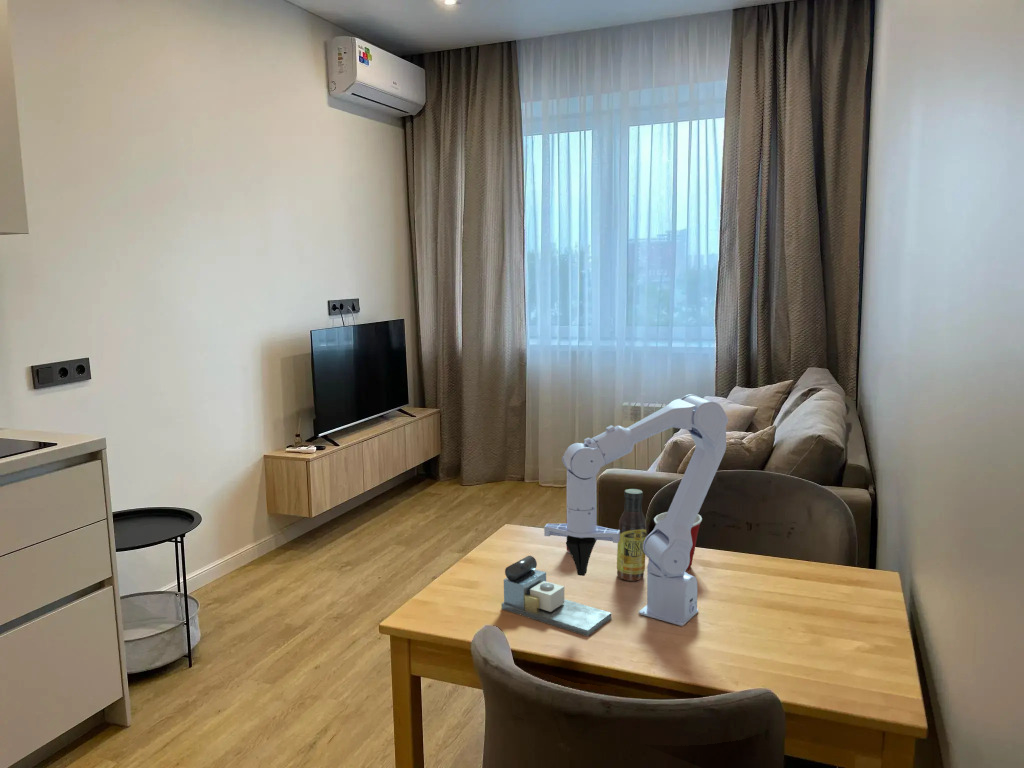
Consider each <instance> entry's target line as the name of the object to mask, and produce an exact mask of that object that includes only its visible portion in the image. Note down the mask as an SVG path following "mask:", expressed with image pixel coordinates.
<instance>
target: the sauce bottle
mask: <svg viewBox="0 0 1024 768" xmlns="http://www.w3.org/2000/svg"><path fill="white" fill-rule="evenodd" d="M623 494H624V495H623V497H624V507H623V508H624V511H622V514H621V515H620V517H619V520H618V530H620V540H619V542H618V543H617V548H616V549H617V550H616V551H617V552H616V569H617V570H616V575H617V577H618V578H619V579H621V580H624V581H629V582H634V581H635V582H636V581H639V580H642V579H643V578H644V575H645V573H644V572H645V571H646V555H645V553H644V550H643V543H644V540H645V538H646V537H647V524H646V517H645V515H644V513H643V508H642V503H643V498H644V495H643V494H644V492H643V491H642V490H641V489H638V488H629V489H625V490H624V493H623Z"/></svg>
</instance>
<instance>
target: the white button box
mask: <svg viewBox="0 0 1024 768" xmlns="http://www.w3.org/2000/svg"><path fill="white" fill-rule="evenodd" d="M530 595H531V596H535V597H538V598H539V608H540V609H543V610H546V611H549V612H551V611H553V610H554V609H556V608H557V607H559V606H560V605H562V604H563V603H564V599H565V586H564V585H561V584H556V583H553V582H550V581H547V580H546V581H543V582H541V583H539V584H538V585H536V586H534V587H533V588H531V589H530Z"/></svg>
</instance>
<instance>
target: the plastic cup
mask: <svg viewBox="0 0 1024 768" xmlns="http://www.w3.org/2000/svg"><path fill="white" fill-rule="evenodd" d="M667 512H668V511H665V512H662V513H660V514H657V515H656V516H655V517H654V518H653V521H654V524H655V525H656V524H657V523H658V522H659V521H661V520H663V519H664V518H665V517H666V515H667ZM702 521H703V518H702V515H700V514H698V515H697V517H696V519H695V521H694V524H693V526H692V528H691V537H692V543H693V545H692V548H691V550H690V563H689V566H688V568H687V569H686V571H685V572H687V571H688V570H690V569H691V567H692V565H693V559H694V555H695V550H696V546H697V540H698V534H699V529H700V525H701V522H702Z"/></svg>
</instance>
